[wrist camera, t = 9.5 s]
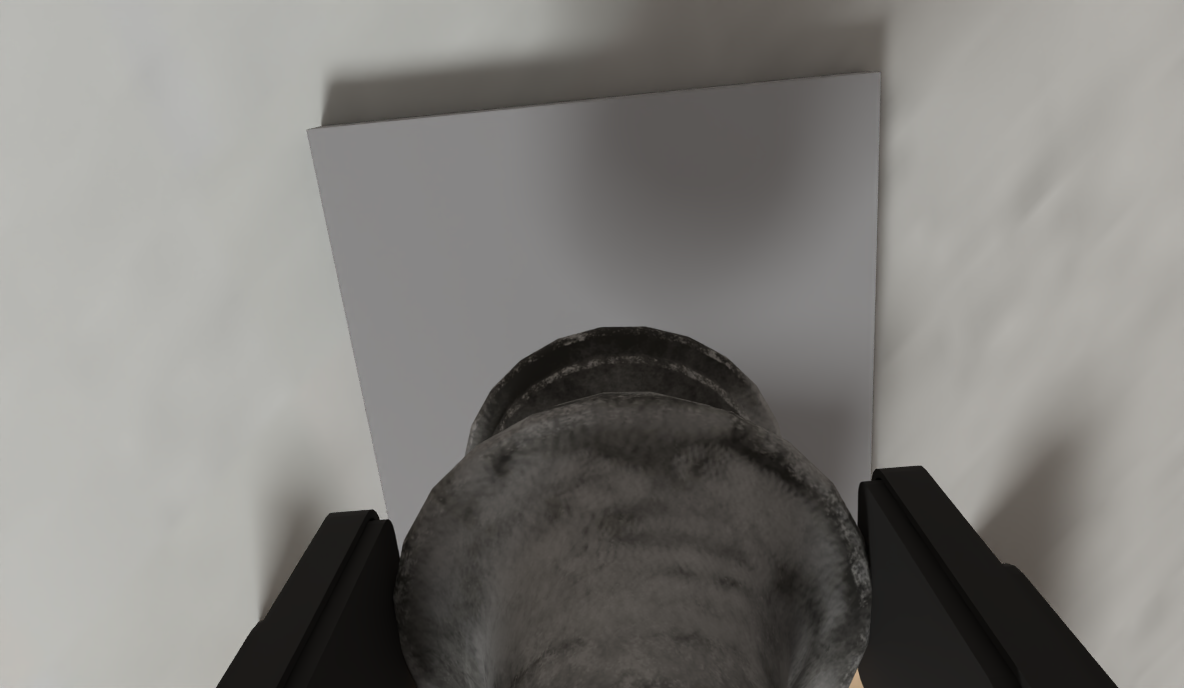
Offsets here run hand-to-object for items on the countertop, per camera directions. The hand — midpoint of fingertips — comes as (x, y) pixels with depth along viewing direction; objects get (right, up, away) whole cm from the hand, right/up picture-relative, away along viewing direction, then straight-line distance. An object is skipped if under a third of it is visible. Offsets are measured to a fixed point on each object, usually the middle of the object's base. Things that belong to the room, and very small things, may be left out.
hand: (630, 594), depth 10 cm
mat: (0, +3, +8) cm, 8 cm away
